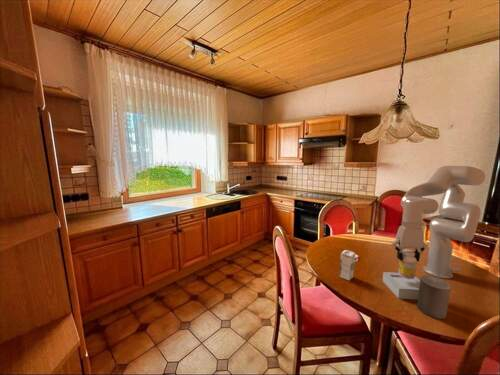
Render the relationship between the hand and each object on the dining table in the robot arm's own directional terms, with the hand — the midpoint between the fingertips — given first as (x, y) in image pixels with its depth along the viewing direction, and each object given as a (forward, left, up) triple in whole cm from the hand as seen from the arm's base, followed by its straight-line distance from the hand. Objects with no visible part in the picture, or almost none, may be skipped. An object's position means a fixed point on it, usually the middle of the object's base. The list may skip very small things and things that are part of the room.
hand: (407, 259), depth 100 cm
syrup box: (+25, -9, -16) cm, 31 cm away
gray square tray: (0, 0, -16) cm, 16 cm away
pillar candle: (-3, +14, -16) cm, 22 cm away
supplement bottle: (0, 0, -9) cm, 9 cm away
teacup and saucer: (+12, -30, -17) cm, 36 cm away
